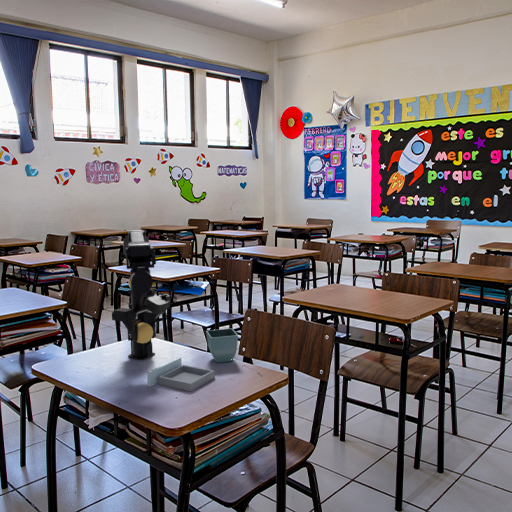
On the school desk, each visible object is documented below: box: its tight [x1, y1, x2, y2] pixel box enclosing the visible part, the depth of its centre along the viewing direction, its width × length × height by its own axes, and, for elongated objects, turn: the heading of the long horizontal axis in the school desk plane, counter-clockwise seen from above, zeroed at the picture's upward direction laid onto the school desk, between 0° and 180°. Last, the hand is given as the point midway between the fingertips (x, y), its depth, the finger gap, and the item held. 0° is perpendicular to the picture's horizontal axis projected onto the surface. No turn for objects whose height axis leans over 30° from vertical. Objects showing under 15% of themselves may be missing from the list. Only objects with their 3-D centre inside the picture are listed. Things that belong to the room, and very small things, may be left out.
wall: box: [146, 357, 183, 387], centre depth 143 cm, size 1×14×4 cm, turn 150°
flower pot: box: [205, 328, 239, 364], centre depth 158 cm, size 9×9×9 cm
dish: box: [157, 364, 216, 392], centre depth 140 cm, size 11×11×2 cm
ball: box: [137, 323, 153, 343], centre depth 145 cm, size 6×6×6 cm
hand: (142, 338), depth 146 cm, fingers closed on ball, 6 cm apart
